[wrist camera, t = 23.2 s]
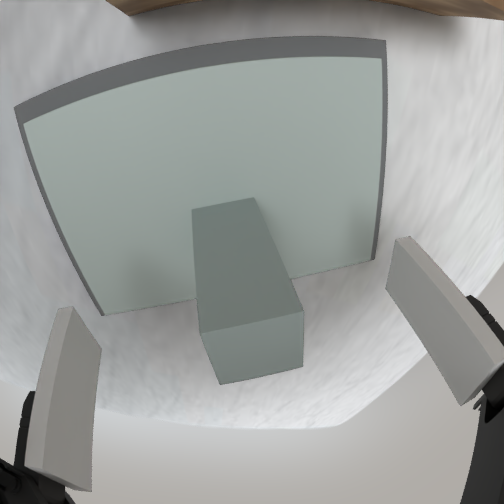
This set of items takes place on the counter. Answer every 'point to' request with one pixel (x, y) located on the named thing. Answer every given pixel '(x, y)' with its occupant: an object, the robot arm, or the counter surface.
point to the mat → (198, 59)
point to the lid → (220, 194)
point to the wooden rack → (440, 3)
